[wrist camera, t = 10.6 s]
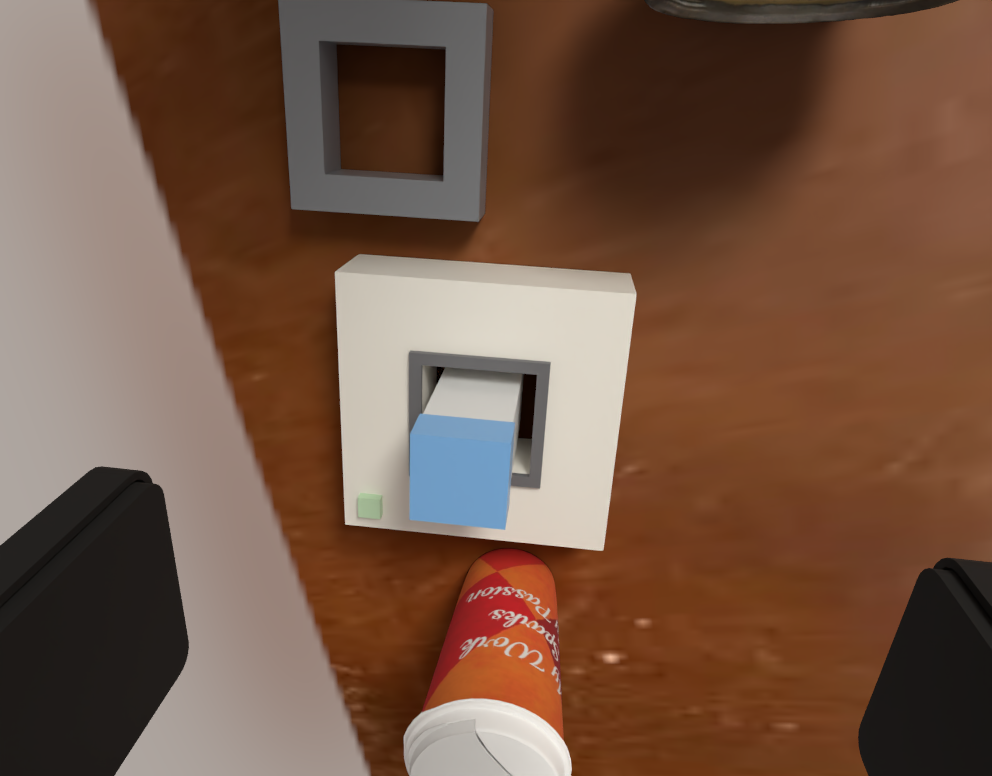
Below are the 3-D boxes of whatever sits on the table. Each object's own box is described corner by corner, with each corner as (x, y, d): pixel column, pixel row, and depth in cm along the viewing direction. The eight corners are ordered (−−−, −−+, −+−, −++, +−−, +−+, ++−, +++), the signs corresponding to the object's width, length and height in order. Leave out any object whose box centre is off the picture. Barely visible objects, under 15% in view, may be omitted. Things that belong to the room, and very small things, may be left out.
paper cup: (598, 578, 43) (607, 784, 30) (524, 653, 46) (504, 871, 33) (493, 509, 42) (456, 693, 29) (424, 590, 45) (363, 791, 32)
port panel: (359, 253, 37) (331, 274, 33) (630, 273, 36) (637, 297, 32) (365, 486, 42) (342, 529, 38) (600, 510, 41) (603, 556, 37)
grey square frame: (299, 1, 32) (277, -6, 30) (493, 10, 32) (486, 3, 29) (309, 201, 36) (291, 209, 34) (484, 213, 35) (478, 221, 33)
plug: (449, 352, 38) (409, 433, 29) (526, 359, 38) (511, 443, 29) (447, 421, 40) (409, 519, 31) (521, 428, 40) (505, 529, 30)
